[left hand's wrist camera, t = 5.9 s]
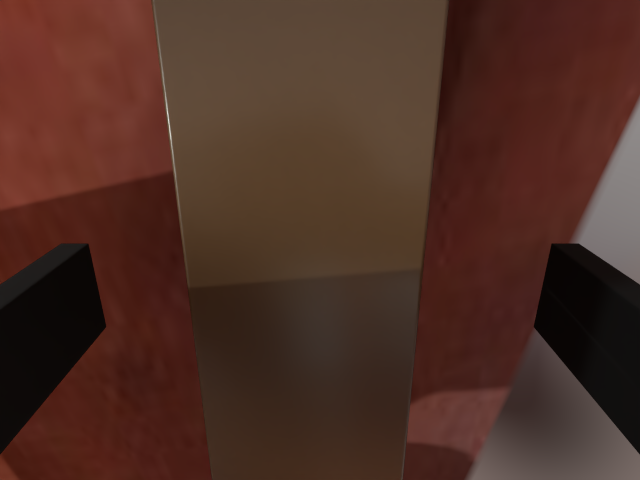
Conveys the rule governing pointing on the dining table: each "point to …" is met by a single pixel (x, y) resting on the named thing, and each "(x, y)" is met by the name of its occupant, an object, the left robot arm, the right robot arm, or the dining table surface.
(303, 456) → the bar
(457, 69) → the dining table surface
